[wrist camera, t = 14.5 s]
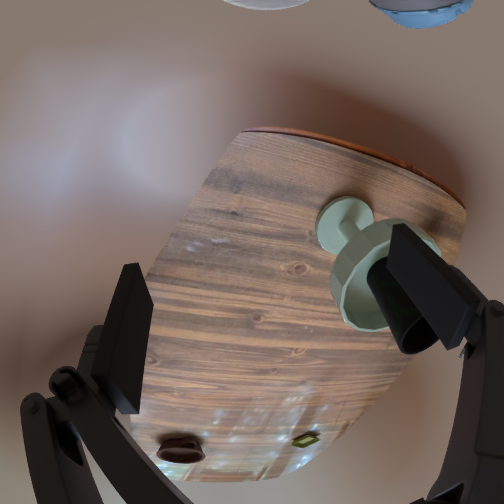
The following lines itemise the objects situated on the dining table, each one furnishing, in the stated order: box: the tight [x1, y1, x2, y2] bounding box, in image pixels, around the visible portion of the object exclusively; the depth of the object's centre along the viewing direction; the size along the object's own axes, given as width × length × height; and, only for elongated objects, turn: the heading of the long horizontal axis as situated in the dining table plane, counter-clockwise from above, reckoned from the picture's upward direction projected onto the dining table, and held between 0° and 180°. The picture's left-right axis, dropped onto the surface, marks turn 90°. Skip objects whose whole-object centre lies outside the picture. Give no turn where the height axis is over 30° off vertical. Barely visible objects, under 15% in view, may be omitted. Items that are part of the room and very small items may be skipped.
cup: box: [366, 256, 439, 354], centre depth 35 cm, size 8×8×12 cm
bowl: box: [315, 196, 441, 332], centre depth 45 cm, size 16×16×18 cm
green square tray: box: [291, 435, 320, 448], centre depth 99 cm, size 9×9×2 cm
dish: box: [157, 438, 205, 464], centre depth 89 cm, size 17×22×5 cm
